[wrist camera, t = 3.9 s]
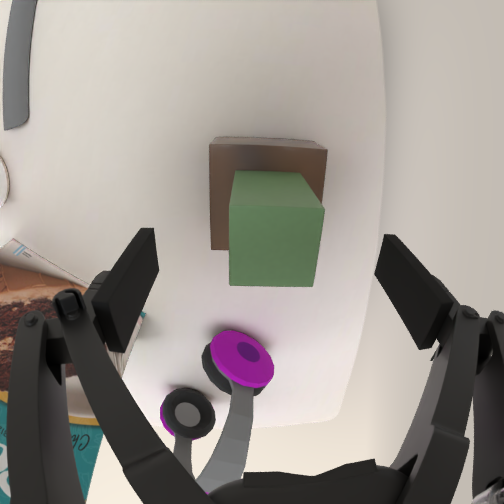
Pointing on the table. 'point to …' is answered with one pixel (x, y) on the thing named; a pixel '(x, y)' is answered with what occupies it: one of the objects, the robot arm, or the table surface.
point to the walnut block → (257, 159)
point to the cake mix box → (79, 410)
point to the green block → (273, 230)
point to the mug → (3, 182)
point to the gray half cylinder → (17, 63)
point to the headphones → (203, 415)
